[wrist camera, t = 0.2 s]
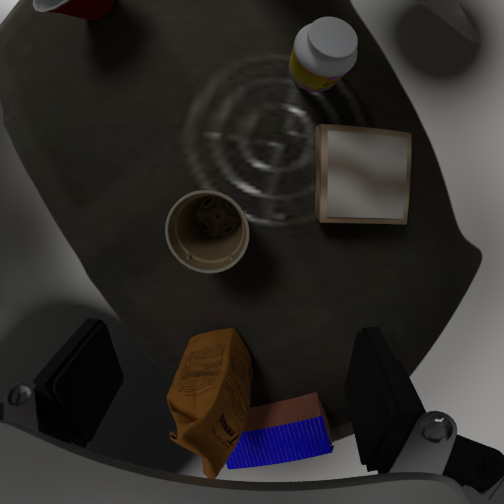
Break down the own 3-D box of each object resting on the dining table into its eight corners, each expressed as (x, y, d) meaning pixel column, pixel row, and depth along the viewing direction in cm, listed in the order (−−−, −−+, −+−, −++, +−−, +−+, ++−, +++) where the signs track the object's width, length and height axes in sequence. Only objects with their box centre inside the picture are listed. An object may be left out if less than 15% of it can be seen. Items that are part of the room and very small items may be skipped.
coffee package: (207, 382, 50) (182, 482, 30) (184, 330, 46) (139, 435, 26) (259, 377, 49) (252, 484, 28) (242, 322, 45) (223, 438, 24)
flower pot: (266, 204, 39) (266, 219, 31) (231, 260, 42) (222, 287, 34) (205, 168, 38) (188, 174, 29) (174, 227, 40) (152, 246, 32)
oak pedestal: (315, 126, 35) (321, 123, 31) (398, 133, 34) (412, 133, 30) (314, 215, 39) (320, 223, 35) (395, 217, 38) (407, 225, 34)
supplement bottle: (316, 102, 34) (338, 81, 22) (277, 70, 32) (281, 35, 20) (347, 71, 32) (380, 41, 20) (310, 40, 31) (327, -3, 18)
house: (330, 421, 54) (337, 464, 43) (244, 439, 57) (240, 480, 46) (318, 389, 50) (325, 437, 39) (222, 410, 53) (214, 455, 42)
